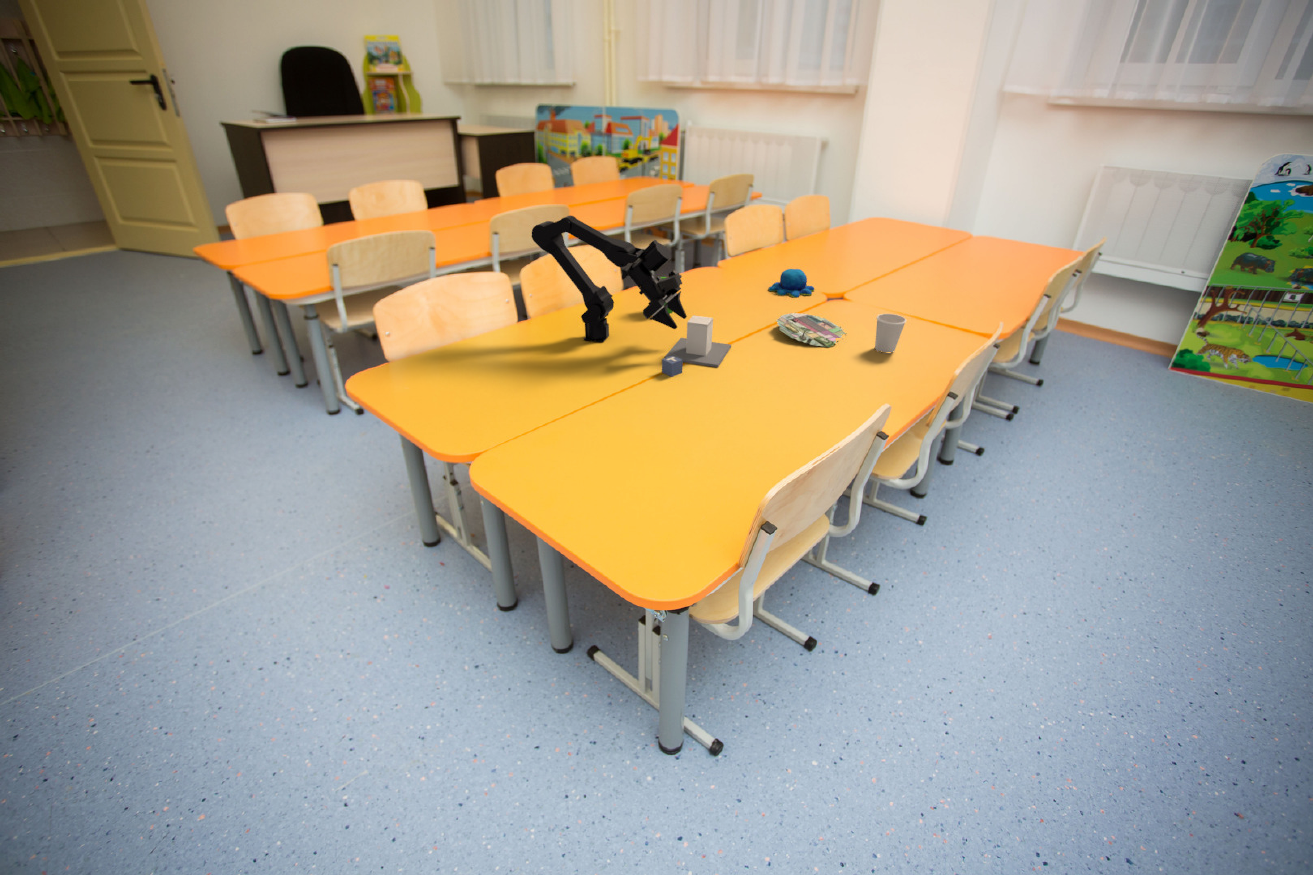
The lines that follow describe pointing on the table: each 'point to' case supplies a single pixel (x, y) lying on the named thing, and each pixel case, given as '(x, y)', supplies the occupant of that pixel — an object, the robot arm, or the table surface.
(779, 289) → the plush toy
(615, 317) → the table surface
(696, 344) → the white tall block
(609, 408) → the table surface
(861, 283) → the table surface
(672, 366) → the letter cube
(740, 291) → the table surface
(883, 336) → the dixie cup
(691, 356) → the mat
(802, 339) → the city model
